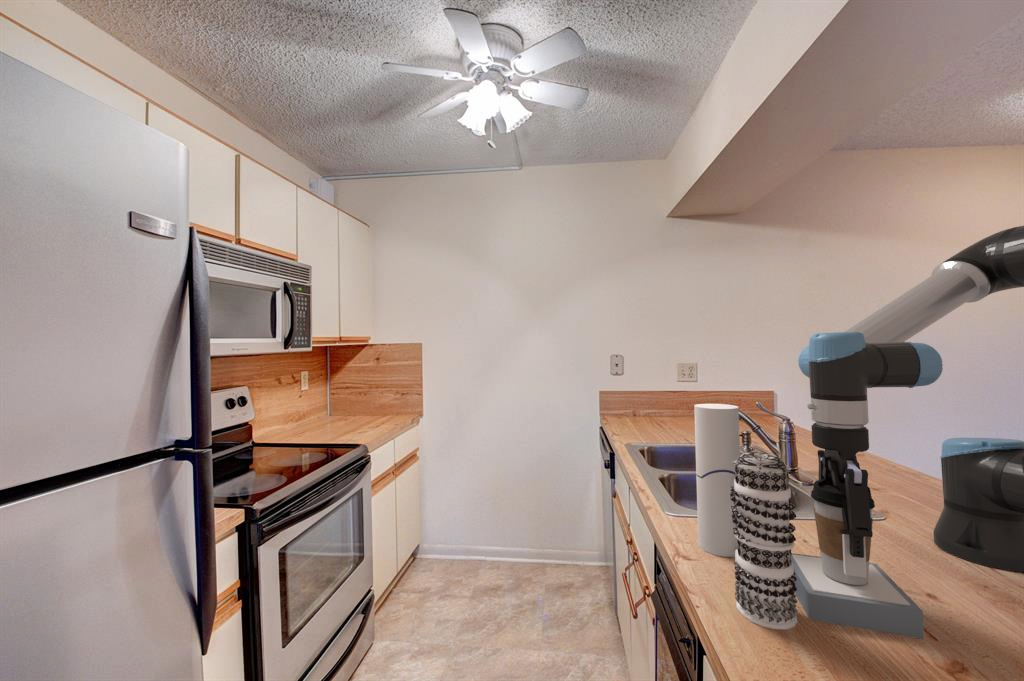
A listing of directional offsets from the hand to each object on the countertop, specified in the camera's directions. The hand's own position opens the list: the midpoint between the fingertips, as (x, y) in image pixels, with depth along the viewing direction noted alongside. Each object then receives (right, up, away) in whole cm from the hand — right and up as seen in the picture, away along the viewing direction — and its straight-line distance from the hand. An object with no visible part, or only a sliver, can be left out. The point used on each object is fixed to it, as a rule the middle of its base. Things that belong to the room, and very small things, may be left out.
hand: (844, 562), depth 69 cm
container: (-11, -7, +20) cm, 24 cm away
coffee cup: (0, -2, 0) cm, 2 cm away
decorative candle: (-15, -7, -2) cm, 16 cm away
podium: (0, -7, 0) cm, 7 cm away
